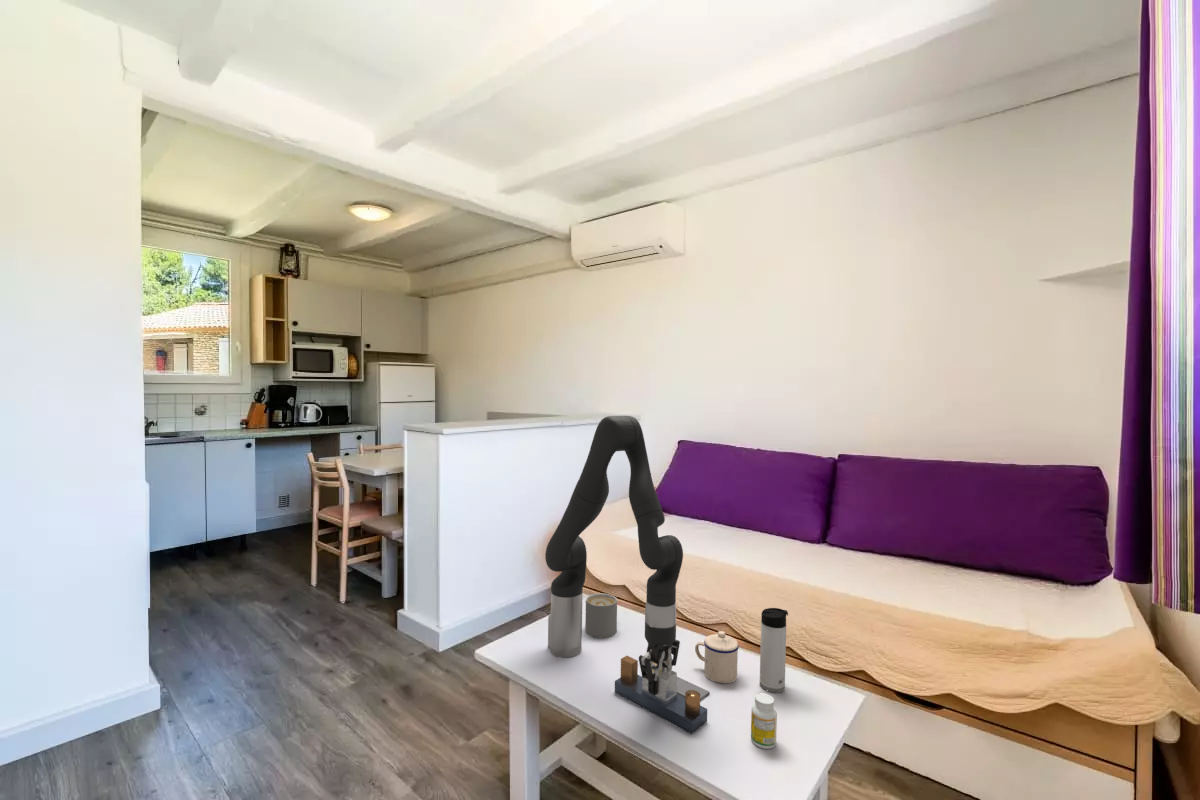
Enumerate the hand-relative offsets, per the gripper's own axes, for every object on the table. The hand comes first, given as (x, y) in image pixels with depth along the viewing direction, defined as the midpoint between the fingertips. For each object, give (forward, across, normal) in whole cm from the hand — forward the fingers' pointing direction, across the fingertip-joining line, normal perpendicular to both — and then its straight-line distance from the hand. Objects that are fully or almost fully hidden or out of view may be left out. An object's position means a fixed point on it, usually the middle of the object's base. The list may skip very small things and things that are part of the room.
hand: (659, 689), depth 128 cm
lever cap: (0, 0, 0) cm, 0 cm away
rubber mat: (+4, -10, 0) cm, 11 cm away
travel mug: (+4, -28, +16) cm, 33 cm away
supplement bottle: (+5, -6, +24) cm, 25 cm away
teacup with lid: (+4, -23, +2) cm, 24 cm away
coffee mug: (+4, -21, -37) cm, 43 cm away
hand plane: (+4, 0, 0) cm, 4 cm away
